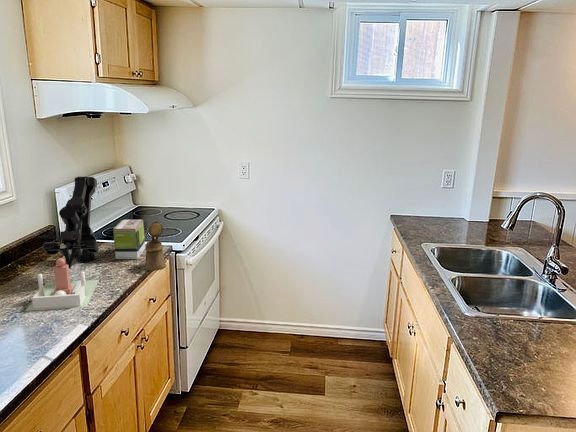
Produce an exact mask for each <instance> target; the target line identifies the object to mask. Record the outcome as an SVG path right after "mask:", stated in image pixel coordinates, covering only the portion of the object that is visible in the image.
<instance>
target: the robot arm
mask: <svg viewBox="0 0 576 432" xmlns="http://www.w3.org/2000/svg"><path fill="white" fill-rule="evenodd" d="M97 187H98V180H97V179H96V178H94V176H77V177H74V187H73V193H72V195H71V198H70V199H68V200H67V202H66V204H65V206H64V207H62V208H61V209H60V210H58V211H59V213H58V214H59V217H60V218H61V221H62V222H63V224H64V225H65V227H64V229H65V230H63V231H60V232H59V234H60V235H59V239H60V241H61V243H62V244H58V245H57V243H56V242H55V241H54V242H53V241H52V242H51V241H50V242H44V243H43V244H42V250H43V251H44V253H45V255H50V256H51V255H52V256H54V255H57V254H59V253H60V255H61V256H63V257H64V260H65V264H66V265H68V266H69V269H72V267H73V265H74V264H75V262H76V261H78V262H80V263H83V264H85V263H88V262H91V261H95V260H97V259H98V257H96V256H95V254H96V253H99V244H98V241H97V238H96V236H95V234H94V231H93V229H92V228H91V226H90V225H91V205H92V196H93V195H94V194H95V193H96V188H97Z"/></svg>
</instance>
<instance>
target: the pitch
mask: <svg viewBox="0 0 576 432" xmlns="http://www.w3.org/2000/svg"><path fill="white" fill-rule="evenodd" d="M99 280H100V279H89V280H88V279H87V280H86V279H85V284H86V294H87V295H86V296H85V298H84V300H83V302H82V304H81V306H70V307H56V308H42V309H34V308H33V300H32V301H31V302H30V304H29V306H28V307H27V308H26V309H25V311H26V312H31V311H43V310H44V311H46V310H47V311H48V310H60V309H61V310H62V309H73V308H87V307H88V305H89V302H90V301H91V299H92V296H93V294H94V293H95V290H96V288H97V286H98V283H99ZM70 285H72V290H73V292H72V294H78V292H79V290H80V289H81V279H79V280H73V281H71V280H70ZM43 287H44V295H45V296H54V290H55V288H56V283H55V281H53V282H45V284H43Z"/></svg>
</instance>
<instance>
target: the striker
mask: <svg viewBox="0 0 576 432" xmlns="http://www.w3.org/2000/svg"><path fill="white" fill-rule="evenodd" d="M55 264H56V265H55V266H54V267H53V274H54V282H55V283H56V288H55V290H54V294H55V293H56V292H57V291H59V290H62V291H65V292H66V294H67V295H71V294H72V292H73V290H72V285H70V281H71V277H70V268H69V266H68V265H67V264H66V259H65V258H62V257H60V258H57V259H56V261H55Z"/></svg>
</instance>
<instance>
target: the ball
mask: <svg viewBox="0 0 576 432" xmlns="http://www.w3.org/2000/svg"><path fill="white" fill-rule="evenodd" d="M55 295H67V294H66V292H65V291H62V290H59V291H57V292H56V293H55V294H54V296H55Z"/></svg>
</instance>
